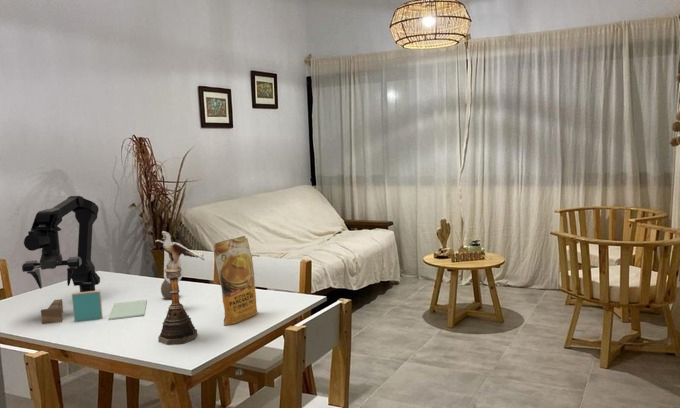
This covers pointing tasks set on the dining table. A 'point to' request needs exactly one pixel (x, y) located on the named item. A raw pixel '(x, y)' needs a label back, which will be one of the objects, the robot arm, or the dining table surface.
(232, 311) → the pancake mix bag
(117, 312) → the rest board
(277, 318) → the dining table surface
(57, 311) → the brown wooden block
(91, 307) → the tile
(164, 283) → the vase
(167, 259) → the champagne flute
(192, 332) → the bird statue
